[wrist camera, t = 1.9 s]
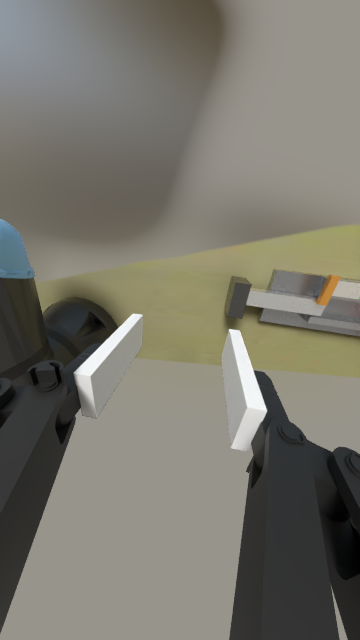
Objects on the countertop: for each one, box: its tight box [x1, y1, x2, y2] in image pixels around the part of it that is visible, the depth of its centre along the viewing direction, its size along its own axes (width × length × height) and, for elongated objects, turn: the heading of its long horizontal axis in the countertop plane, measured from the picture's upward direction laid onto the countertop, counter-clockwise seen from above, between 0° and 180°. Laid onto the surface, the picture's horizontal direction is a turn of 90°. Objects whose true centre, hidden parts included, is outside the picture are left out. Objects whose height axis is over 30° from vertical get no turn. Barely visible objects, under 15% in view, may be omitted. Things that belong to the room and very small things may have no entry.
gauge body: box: [258, 269, 360, 336], centre depth 25 cm, size 20×8×4 cm, turn 84°
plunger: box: [225, 275, 341, 319], centre depth 24 cm, size 13×7×4 cm, turn 84°
